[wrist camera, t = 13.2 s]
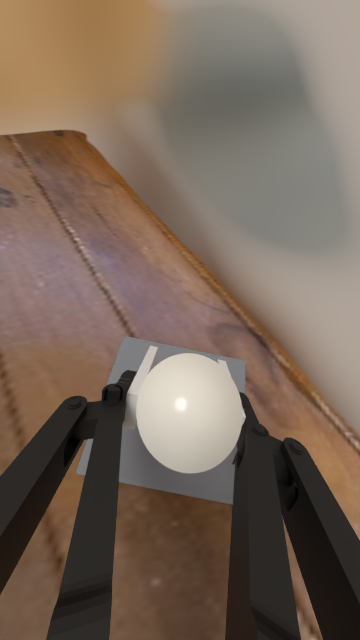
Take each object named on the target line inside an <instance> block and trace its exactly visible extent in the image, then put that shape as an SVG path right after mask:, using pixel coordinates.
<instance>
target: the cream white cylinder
mask: <svg viewBox="0 0 360 640" xmlns="http://www.w3.org/2000/svg"><path fill="white" fill-rule="evenodd" d="M242 418H243V412H242V403H241V398H240V395H239V392H238V389H237V387H236V385H235V383H234V381H233V379H232V378H231V376H230V375H229V374H228V373H227V371H226V370H225V369H224V368H223V367H222V366H221V365H219V364H218V363H217V362H215V361H213V360H212V359H210V358H208V357H205V356H202V355H199V354H193V353H183V354H177V355H173V356H171V357H168V358H166V359H165V360H163V361H161V362H160V363H159V364H157V365H156V366H155V367H154V368H153V369H152V370H151V371H150V372H149V374H148V375H147V377H146V378H145V380H144V381H143V384H142V386H141V388H140V391H139V394H138V399H137V405H136V419H137V425H138V429H139V433H140V436H141V438H142V440H143V443H144V444H145V446H146V448H147V449H148V451H149V452H150V453H151V454H152V456H153V457H154V458H155V459H156V460H158V461H159V462H160V463H161V464H163V465H164V466H166V467H168V468H170V469H172V470H174V471H178V472H181V473H189V474H190V473H200V472H204V471H207V470H209V469H212V468H214V467H215V466H217V465H219V464H220V463H221V462H222V461H223V460H225V459H226V457H227V456H228V455H229V454H230V453H231V451H232V450H233V448H234V447H235V445H236V443H237V440H238V438H239V435H240V432H241V427H242Z"/></svg>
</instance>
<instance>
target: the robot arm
mask: <svg viewBox="0 0 360 640" xmlns="http://www.w3.org/2000/svg"><path fill="white" fill-rule="evenodd" d="M157 351H158V347H155V346H150V347H149V349H148V351H147V353H146V355H145V357H144V359H143V362H142V364H141V366H140V368H139V370H138V372H136V371H131V370H127V371H125V372H123V373H122V375H121V377H120V378H119V380H118V382H117V383H113V384H109V385H107V386H105V387H104V389H103V390H102V400H101V401H97V402H87V399H86V398H85V397H82V396H73V397H70V398H68V399H66V400H65V401H64V402H63V403H62V404H61V405H60V406H59V407H58V408H57V410H56V411H55V412H54V413H53V414H52V416H51V417H50V418H49V419H48V420H47V422H46V423H45V424H44V425H43V426H42V428H41V429H40V430H39V431H38V432H37V434H36V435H35V436H34V437H33V438H32V439H31V441H30V442H29V443H28V444H27V445H26V447H25V448H24V449H23V450H22V451H21V453H20V454H19V455H18V456H17V457H16V459H15V460H14V461H13V462H12V463H11V465H10V466H9V467H8V468H7V469H6V470H5V472H4V473H3V474H2V475H1V476H0V594H1V593H2V591H3V589H4V587H5V585H6V583H7V581H8V580H9V578H10V576H11V574H12V572H13V570H14V569H15V567H16V565H17V563H18V561H19V559H20V557H21V556H22V554H23V552H24V550H25V548H26V546H27V544H28V543H29V541H30V539H31V537H32V535H33V533H34V532H35V530H36V528H37V526H38V524H39V522H40V520H41V519H42V517H43V515H44V513H45V511H46V509H47V507H48V506H49V504H50V502H51V500H52V498H53V496H54V495H55V493H56V491H57V489H58V487H59V485H60V483H61V482H62V480H63V478H64V476H65V474H66V472H67V470H68V469H69V467H70V465H71V463H72V461H73V459H74V458H75V456H76V454H77V452H78V450H79V448H80V446H81V445H82V443H83V441H84V440H86V439H93V443H92V447H91V452H90V456H89V461H88V465H87V470H86V474H85V479H84V483H83V488H82V493H81V497H80V502H79V506H78V511H77V515H76V520H75V524H74V529H73V533H72V538H71V543H70V547H69V552H68V556H67V561H66V565H65V570H64V574H63V579H62V583H61V588H60V592H59V596H58V600H57V603H56V605H55V608H54V611H53V615H52V618H51V622H50V626H49V630H48V635H47V639H46V640H109V634H110V619H111V602H112V574H113V559H114V544H115V529H116V515H117V500H118V485H119V470H120V456H121V441H122V426H123V427H124V428H129V429H134V428H135V425H136V423H137V419H136V405H137V399H138V394H139V391H140V388H141V386H142V384H143V381H144V380H145V378H146V377H147V375H148V374H149V372H150V371H151V370H152V369H153V368H154V367H155V362H156V356H157ZM217 363H218V364H219V365H221V366H222V367H223V368H224V369H225V370H226V371H227V373H228V374H229V375H230V372H229V369H228V367H227V364H226V361H223V360H217ZM230 376H231V375H230ZM231 378H232V377H231ZM239 395H240V398H241V403H242V412H243V418H242V427H241V432H240V435H239V438H238V440H237V443H236V445H237V449H238V450H237V452H236V455H235V457H234V460H233V463H232V464H233V465H234V463H235V473H234V491H233V509H232V527H231V545H230V563H229V581H228V599H227V617H226V635H225V640H301V637H300V632H299V625H298V619H297V612H296V605H295V599H294V592H293V586H292V579H291V572H290V566H289V559H288V553H287V546H286V540H285V533H284V526H283V520H282V516H283V519H284V522H285V525H286V528H287V531H288V534H289V537H290V540H291V543H292V546H293V549H294V552H295V555H296V558H297V562H298V565H299V568H300V571H301V574H302V577H303V580H304V583H305V586H306V589H307V592H308V595H309V598H310V601H311V604H312V607H313V610H314V613H315V616H316V619H317V622H318V625H319V628H320V631H321V634H322V637H323V640H360V540H359V539H358V537H357V535H356V533H355V532H354V530H353V528H352V527H351V525H350V523H349V521H348V520H347V518H346V516H345V515H344V513H343V511H342V509H341V508H340V506H339V504H338V503H337V501H336V499H335V497H334V496H333V494H332V492H331V490H330V489H329V487H328V485H327V484H326V482H325V480H324V478H323V477H322V475H321V473H320V472H319V470H318V468H317V466H316V465H315V463H314V461H313V460H312V458H311V456H310V454H309V453H308V451H307V450H306V448H305V447H304V446H303V445H302V444H301V443H300V442H298V441H297V440H295V439H293V438H285V439H284V441H283V442H282V441H280V440H278V439H276V438H274V437H272V436H270V435H269V432H268V431H267V429H266V428H265V427H264V426H262V425H261V424H259V422H258V420H257V417H256V415H255V413H254V411H253V409H252V406H251V404H250V401H249V399H248V397H247V396H246V395H245V394H244V393H242V392H239ZM233 449H234V448H233Z"/></svg>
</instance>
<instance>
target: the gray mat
mask: <svg viewBox="0 0 360 640" xmlns="http://www.w3.org/2000/svg"><path fill="white" fill-rule="evenodd" d="M150 346H155V347H158V351H157V356H156V362H155V366H156V365H157V364H159V363H160V362H161V361H163V360H165V359H166V358H168V357H171V356H173V355H177V354H183V353H193V354H199V355H202V356H205V357H208V358H210V359H212V360H213V361H215V362H217V360H223V361H226V364H227V367H228V369H229V372H230V375H231V377H232V379H233V381H234V383H235V385H236V387H237V389H238V392H242V393H244V394H245V361H244V360H239V359H234V358H229V357H224V356H220V355H215V354H210V353H205V352H200V351H195V350H190V349H185V348H181V347H176V346H171V345H166V344H161V343H156V342H151V341H146V340H141V339H137V338H132V337H127V336H124V337H123V340H122V343H121V346H120V349H119V351H118V354H117V357H116V360H115V363H114V366H113V369H112V371H111V374H110V377H109V380H108V383H107V385H109V384H113V383H117V382H118V380H119V378H120V377H121V375H122V373H123V372H125V371H127V370H131V371H136V372H138V370H139V368H140V366H141V364H142V362H143V359H144V357H145V355H146V353H147V351H148V349H149V347H150ZM92 443H93V439H88V440H87V442H86V445H85V448H84V451H83V454H82V457H81V459H80V462H79V465H78V468H77V471H76V474H80V475H85V474H86V470H87V465H88V461H89V456H90V452H91V447H92ZM237 450H238V449H237V445H235V447H234V449H233V450H232V451H231V453H230V454H229V455H228V456H227V457H226V459H225V460H223V461H222V462H221V463H220V464H219V465H217V466H215V467H214V468H212V469H209V470H207V471H204V472H200V473H190V474H189V473H181V472H178V471H174V470H172V469H170V468H168V467H166V466H164V465H163V464H161V463H160V462H159V461H158V460H156V459H155V458H154V457H153V456H152V454H151V453H150V452H149V451H148V449H147V448H146V446H145V444H144V443H143V440H142V438H141V436H140V433H139V429H138V425H137V423H136V425H135V428H134V429H129V428H124V427H123V426H122V441H121V456H120V470H119V482H121V483H126V484H131V485H136V486H141V487H146V488H151V489H156V490H161V491H166V492H171V493H176V494H181V495H186V496H191V497H196V498H201V499H206V500H211V501H216V502H221V503H226V504H231V505H233V491H234V473H235V463H234V465H233V464H232V463H233V460H234V457H235V455H236V452H237Z"/></svg>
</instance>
